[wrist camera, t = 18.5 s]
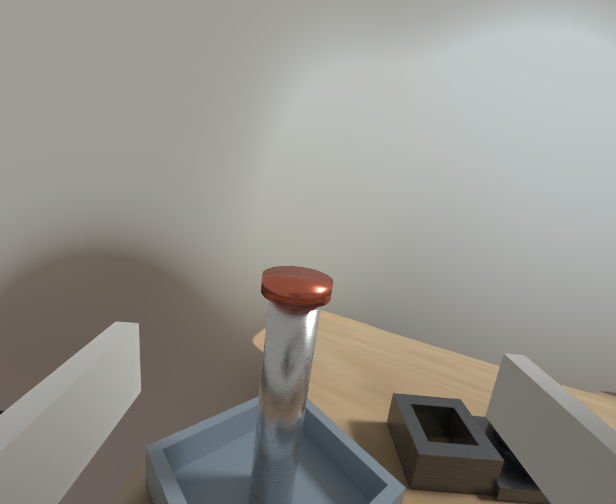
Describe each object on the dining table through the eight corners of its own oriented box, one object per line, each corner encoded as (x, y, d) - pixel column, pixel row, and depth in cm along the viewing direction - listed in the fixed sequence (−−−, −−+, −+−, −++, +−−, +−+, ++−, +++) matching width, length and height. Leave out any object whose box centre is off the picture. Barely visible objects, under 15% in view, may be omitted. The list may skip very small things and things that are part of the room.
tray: (286, 412, 36) (289, 382, 35) (396, 525, 25) (405, 487, 25) (145, 485, 26) (145, 446, 25) (230, 721, 16) (235, 670, 15)
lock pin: (277, 459, 29) (302, 263, 24) (311, 502, 25) (347, 283, 21) (230, 489, 26) (248, 269, 21) (262, 543, 22) (292, 295, 18)
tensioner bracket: (544, 432, 38) (555, 405, 37) (617, 509, 29) (633, 476, 28) (385, 418, 37) (391, 390, 36) (411, 494, 28) (421, 459, 27)
